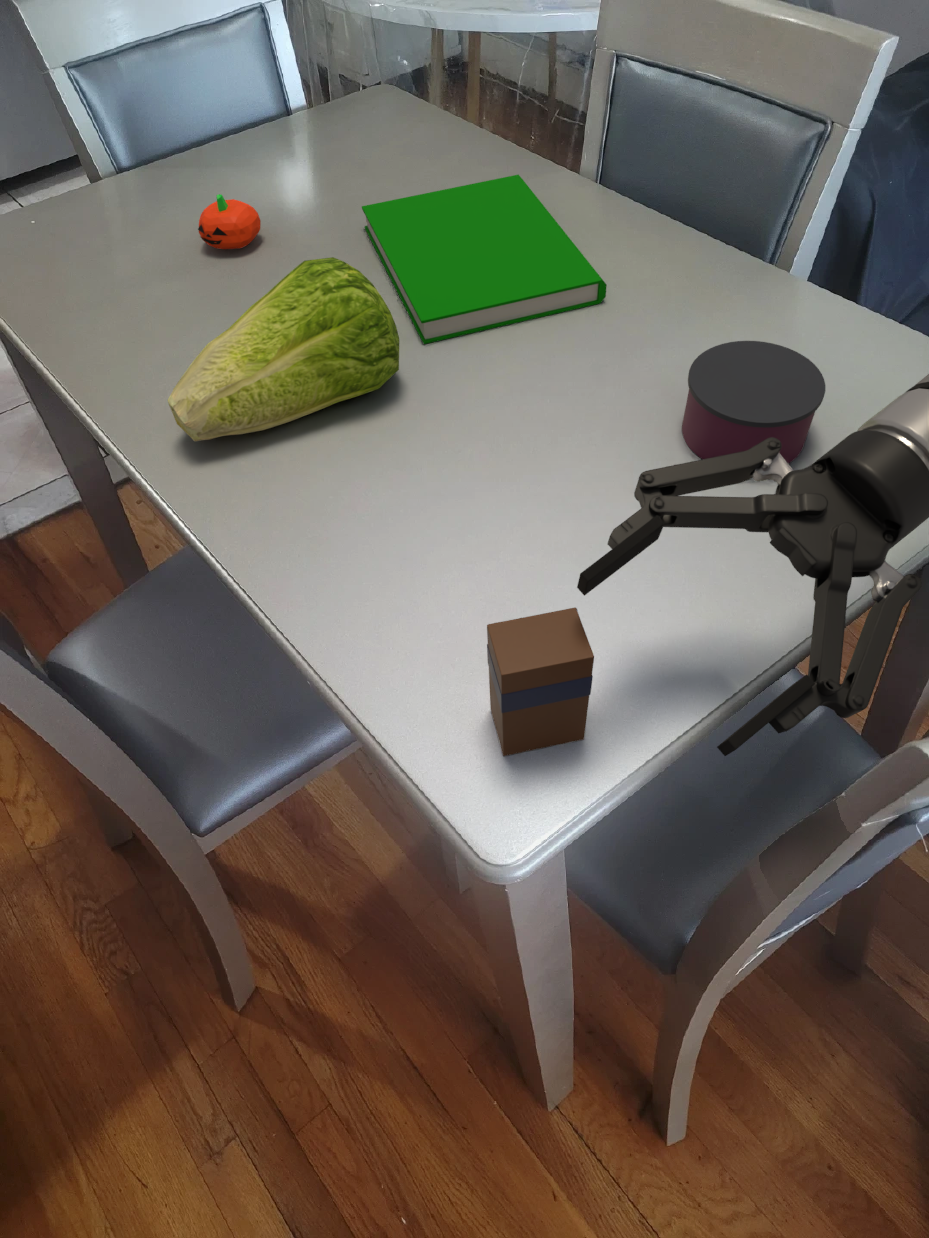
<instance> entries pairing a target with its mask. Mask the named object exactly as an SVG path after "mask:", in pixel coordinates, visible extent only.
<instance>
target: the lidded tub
mask: <svg viewBox="0 0 929 1238" xmlns="http://www.w3.org/2000/svg"><path fill="white" fill-rule="evenodd" d="M687 386H688V392H687V397H686V403H685V406H684V407H685V408H684V413H683V418H682V419H683V420H682V423H681V434H682V437H683V439H684V442H685V444H686V445H687V447H688V448H689V450H691V451H692V453H694V454H695V455H696V456H697V457H699V458H700V460H702V459H707V458H712V457H717V456H722V455H727V454H732V453H737V452H742V451H747V450H748V449H750V448H752V447H754V446H755V445H757V444H759V443H760V442H762V441H764V440H765V439H767V438H770V437H774V438H777V439H778V440H780V442H781V444H782V448H781V450H780V452H779V453H780V454H781V456H782V457H783V458H784V459H785V461H786V462H787V463H788V464H789V465H790V463H792V462H793V461H795V460H796V459H797V458H798V457H799V455H800V454H801V452H802V451H803V448H804V447H805V444H806V440H807V437H808V434H809V431H810V429H811V425H812V423H813V419H814V418H815V417H814V416H815V414H816V411H817V410H818V409H819V407H820V406H821V404H822V403H823V401H824V397H825V394H826V381H825V378H824V376H823V373H822V372H821V371H820V369H819V368H818V367H817V366H816V364H815V363H814V362H812V360H810V359H809V358H808V357H806V356H805V355H803V354H801V353H799V352H798V351H796V350H793V349H791V348H789V347H786V346H784V345H780V344H777V343H772V342H767V341H759V340H737V341H729V342H724V343H720V344H717V345H714V346H712V347H710V348H708V349H706V350H704V351H703V352H701V353H700V354H699V355H698V356H697V357H696V358H695V359H694V360H693V362H692V364H690V367H689V371H688V376H687Z"/></svg>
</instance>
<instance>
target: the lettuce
mask: <svg viewBox="0 0 929 1238" xmlns="http://www.w3.org/2000/svg"><path fill="white" fill-rule="evenodd" d="M398 332H399V331H398V327H397V325H396V322H395V319H394V317H393V314H392V312H391V310H390V308H389V306H388V305H387V303H386V302H385V300H384V298H383V296H382V295H381V294H380V292H379V291H378V289H377V288H376V287H375V285H374V283H373V282H371V281H370V280H369V279H368V278H367V276H366V275H364V274H363V273H362V272H361V270H359V269H357V268H355V267H354V266H352V265H350V264H348V263H347V262H346V261H344V260H341V259H339V258H336V257H333V256H332V257H325V258H324V257H323V258H315V259H307V260H304V261H302V262H301V263H299V264H298V265H296V267H294V269H292V270H291V271H290V272H289V273H287V274H286V275H285V276H284V277H283V278H282V279H281V280H279V281H278V282H277V283H276V284H275V285H274V286H273V287H272V288H271V289H270V290H269V291H268V292H266V293H265V294H264V295H263V296H262V297H260V298H259V299H258V300H257V301H255V302H254V303H253V304H252V305H250V306H249V307H248V308H247V309H246V310H245V311H244V312H243V314H242V315H241V316H240V317H238V319H237V320H235V321H234V323H232V324H231V325H230V326H229V327H228V328H227V329H226V330H225V331H223V332H222V333H220V334H219V335H218V336H216V337H215V338H213V339H212V340H211V341H209V342H208V343H207V344H206V345H205V346H204V347H203V349H201V351H199V353H198V354H197V356H196V357H195V358H194V359H193V360H192V362H191V363H190V365H189V366H188V367H187V369H186V370H185V371H184V373H183V375H181V377H180V378H179V380H178V381H177V383H176V384H175V386H173V389H172V392H171V393H170V395H169V397H168V398H167V403H168V406H169V408H170V411H171V414H172V416H173V418H174V420H175V423H176V425H177V426H178V427H179V428H180V429H181V430H183V431H184V432H185V434H187V435H188V437H190V439H192V441H194V442H200V441H206V440H212V439H213V440H214V439H216V438H220V437H225V436H235V435H243V434H249V433H255V432H260V431H265V430H268V429H271V428H274V427H278V426H281V425H283V424H286V423H289V422H292V421H295V420H298V419H300V418H302V417H303V418H304V417H305V416H307V415H310V414H313V413H315V412H318V411H320V410H322V409H325V408H328V407H330V406H333V405H335V404H337V403H340V402H344V401H346V400H347V401H348V400H350V399H353V398H356V397H359V396H362V395H365V394H368V393H371V392H374V391H376V390H379V389H380V388H382V386H384V384H386V382H387V381H389V380H390V379H391V378H392V377H393V376H394V375H395V374H396V373H397V372H398V371H399V370H400V337H399V333H398Z"/></svg>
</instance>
